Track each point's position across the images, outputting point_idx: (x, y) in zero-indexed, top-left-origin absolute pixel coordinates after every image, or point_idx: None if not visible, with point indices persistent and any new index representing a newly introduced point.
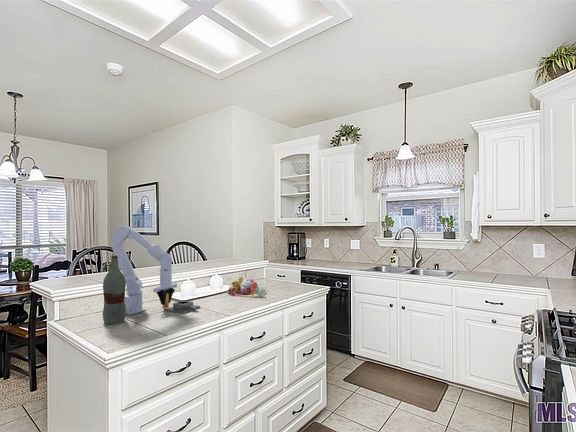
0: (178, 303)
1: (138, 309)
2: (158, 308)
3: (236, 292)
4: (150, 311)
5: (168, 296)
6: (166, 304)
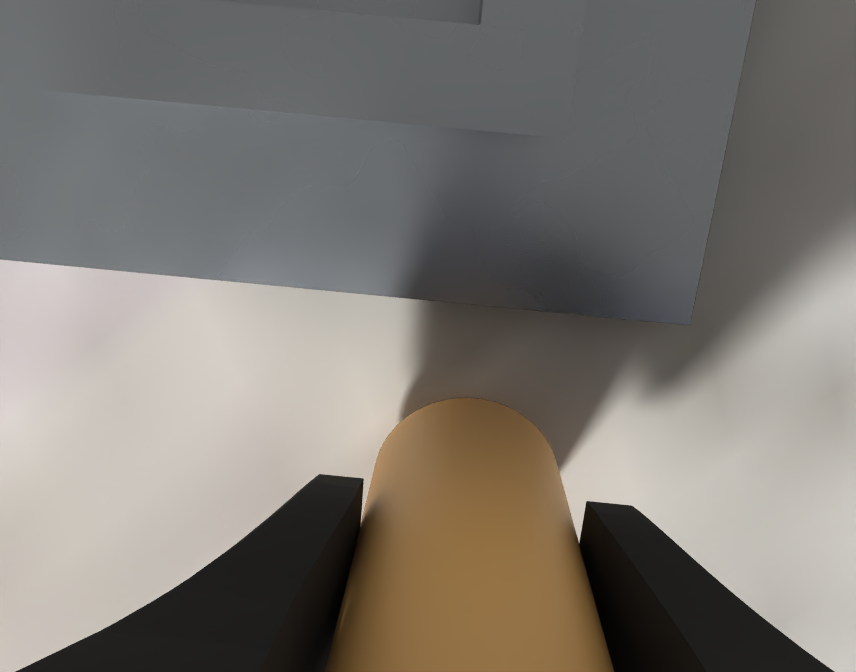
0: (315, 17)
1: None
2: None
3: None
4: None
5: (419, 665)
6: (532, 467)
